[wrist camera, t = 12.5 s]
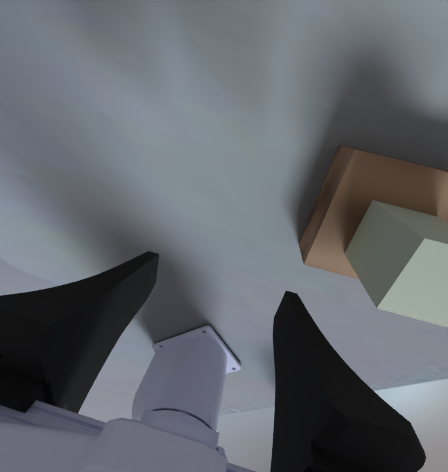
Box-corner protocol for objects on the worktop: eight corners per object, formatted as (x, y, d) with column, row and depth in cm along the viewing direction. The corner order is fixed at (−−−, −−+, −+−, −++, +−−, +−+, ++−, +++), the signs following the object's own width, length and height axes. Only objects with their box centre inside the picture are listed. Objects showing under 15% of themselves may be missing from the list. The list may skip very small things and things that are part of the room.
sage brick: (401, 268, 18) (458, 330, 13) (344, 253, 18) (376, 308, 13) (436, 216, 16) (522, 263, 11) (372, 200, 16) (424, 238, 11)
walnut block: (392, 267, 22) (415, 294, 19) (298, 242, 23) (303, 264, 19) (454, 172, 18) (499, 184, 15) (338, 144, 19) (354, 149, 15)
